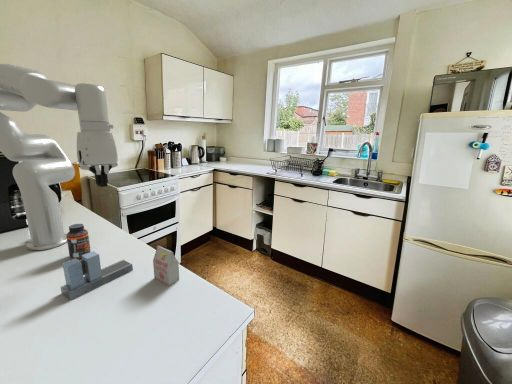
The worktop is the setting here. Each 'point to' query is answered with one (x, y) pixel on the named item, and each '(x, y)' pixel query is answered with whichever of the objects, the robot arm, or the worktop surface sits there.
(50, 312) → the worktop surface
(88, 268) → the block
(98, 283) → the rail
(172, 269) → the white drink carton
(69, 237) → the supplement bottle
